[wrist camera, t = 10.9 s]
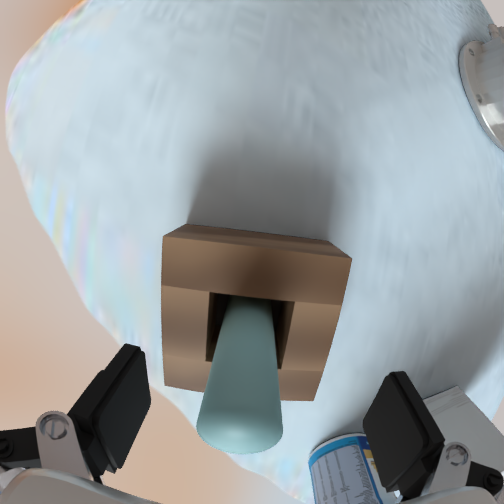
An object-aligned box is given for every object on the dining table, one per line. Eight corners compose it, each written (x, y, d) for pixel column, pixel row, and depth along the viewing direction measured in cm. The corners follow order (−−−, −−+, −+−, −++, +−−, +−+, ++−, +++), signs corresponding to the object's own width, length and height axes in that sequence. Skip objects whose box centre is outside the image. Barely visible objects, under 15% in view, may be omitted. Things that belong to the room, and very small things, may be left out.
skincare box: (394, 433, 24) (435, 524, 9) (406, 401, 23) (463, 500, 8) (446, 414, 24) (494, 487, 9) (461, 381, 22) (523, 456, 8)
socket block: (186, 223, 19) (162, 236, 14) (328, 241, 19) (352, 258, 14) (181, 347, 21) (164, 385, 16) (302, 360, 21) (313, 400, 16)
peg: (231, 279, 19) (196, 398, 8) (273, 284, 19) (290, 408, 8) (227, 316, 20) (196, 448, 8) (267, 321, 20) (274, 456, 8)
